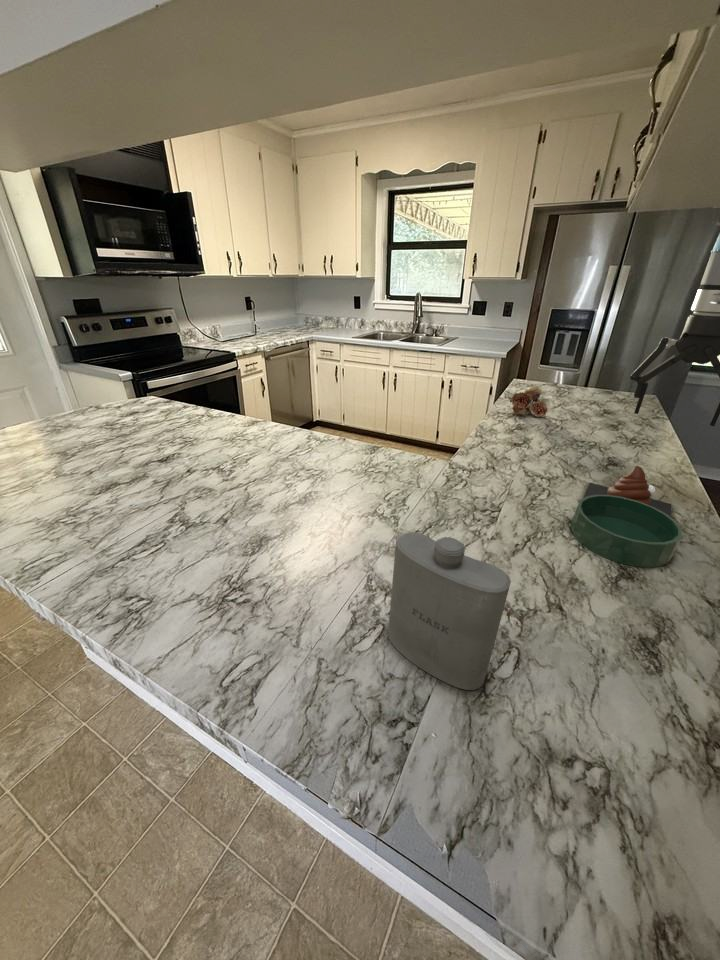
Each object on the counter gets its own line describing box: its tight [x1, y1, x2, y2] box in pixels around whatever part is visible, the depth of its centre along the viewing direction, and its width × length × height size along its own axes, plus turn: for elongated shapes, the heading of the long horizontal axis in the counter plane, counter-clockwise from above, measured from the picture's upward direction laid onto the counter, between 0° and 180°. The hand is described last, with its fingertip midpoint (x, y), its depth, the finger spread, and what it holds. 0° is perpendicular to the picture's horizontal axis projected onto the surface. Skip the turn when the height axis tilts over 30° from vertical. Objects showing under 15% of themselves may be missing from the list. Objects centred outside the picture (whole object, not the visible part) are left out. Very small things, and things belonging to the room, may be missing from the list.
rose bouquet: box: [508, 386, 548, 418], centre depth 156 cm, size 13×16×15 cm
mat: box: [582, 482, 672, 518], centre depth 97 cm, size 18×12×1 cm, turn 55°
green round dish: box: [570, 495, 684, 569], centre depth 82 cm, size 18×18×6 cm
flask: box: [387, 531, 512, 691], centre depth 52 cm, size 15×6×20 cm, turn 52°
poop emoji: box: [607, 465, 657, 505], centre depth 94 cm, size 10×8×9 cm
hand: (672, 418), depth 87 cm, fingers open, 13 cm apart
